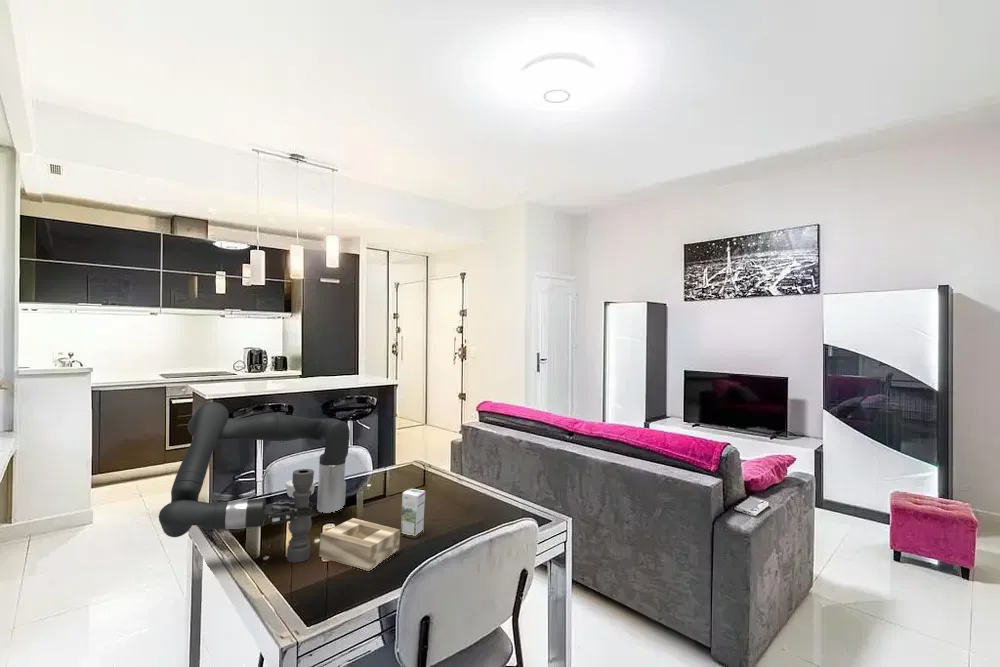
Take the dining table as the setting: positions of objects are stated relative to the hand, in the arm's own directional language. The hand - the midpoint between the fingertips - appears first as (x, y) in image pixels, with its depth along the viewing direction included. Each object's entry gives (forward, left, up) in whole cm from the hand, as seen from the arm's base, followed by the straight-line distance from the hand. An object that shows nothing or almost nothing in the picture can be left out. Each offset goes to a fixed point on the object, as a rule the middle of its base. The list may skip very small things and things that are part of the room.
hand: (311, 508), depth 139 cm
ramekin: (-38, -43, -14) cm, 59 cm away
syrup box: (-28, +17, -14) cm, 36 cm away
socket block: (-8, +12, -14) cm, 20 cm away
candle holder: (+2, -2, -14) cm, 14 cm away
